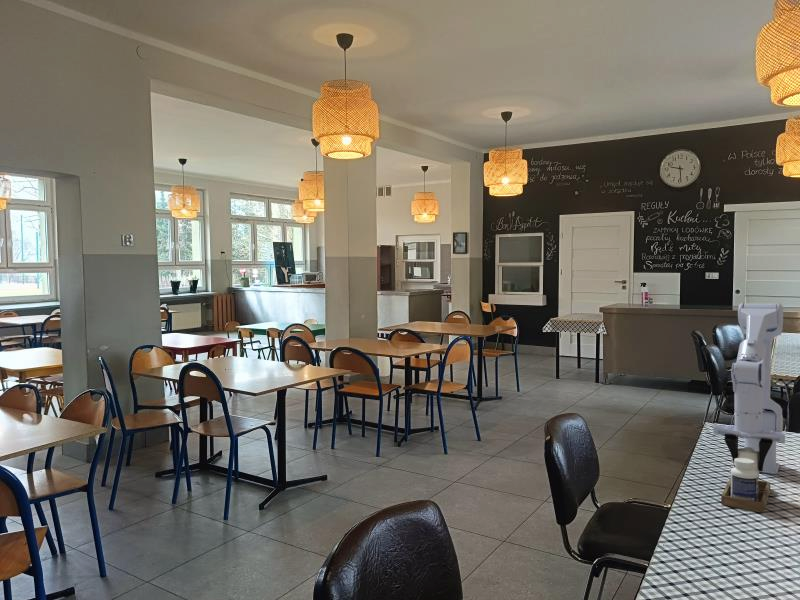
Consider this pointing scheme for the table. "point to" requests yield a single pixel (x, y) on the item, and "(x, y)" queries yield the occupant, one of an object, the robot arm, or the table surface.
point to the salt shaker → (750, 456)
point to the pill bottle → (744, 479)
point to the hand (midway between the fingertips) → (748, 468)
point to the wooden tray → (744, 502)
